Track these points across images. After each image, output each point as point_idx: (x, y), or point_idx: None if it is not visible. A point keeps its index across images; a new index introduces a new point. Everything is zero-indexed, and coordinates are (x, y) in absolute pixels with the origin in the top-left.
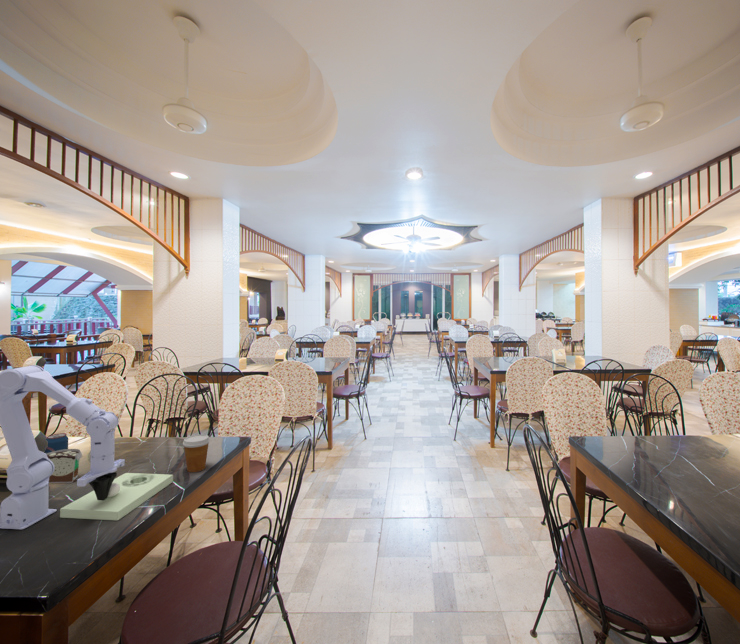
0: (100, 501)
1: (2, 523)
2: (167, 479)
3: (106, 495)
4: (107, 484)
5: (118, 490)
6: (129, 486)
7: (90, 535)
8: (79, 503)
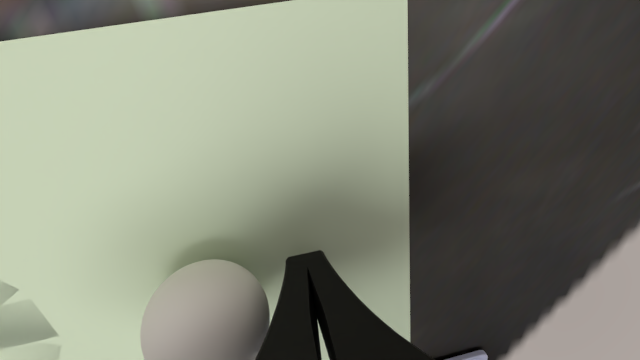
0: None
1: None
2: None
3: (306, 268)
4: (341, 351)
5: (186, 273)
6: (34, 311)
7: (541, 19)
8: None
